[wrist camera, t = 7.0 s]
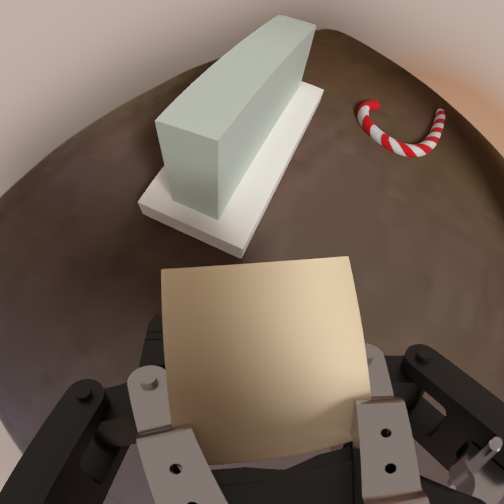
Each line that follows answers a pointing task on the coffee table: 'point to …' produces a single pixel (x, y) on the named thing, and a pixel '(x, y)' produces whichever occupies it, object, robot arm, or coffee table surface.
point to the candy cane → (393, 144)
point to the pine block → (263, 356)
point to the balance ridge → (234, 137)
